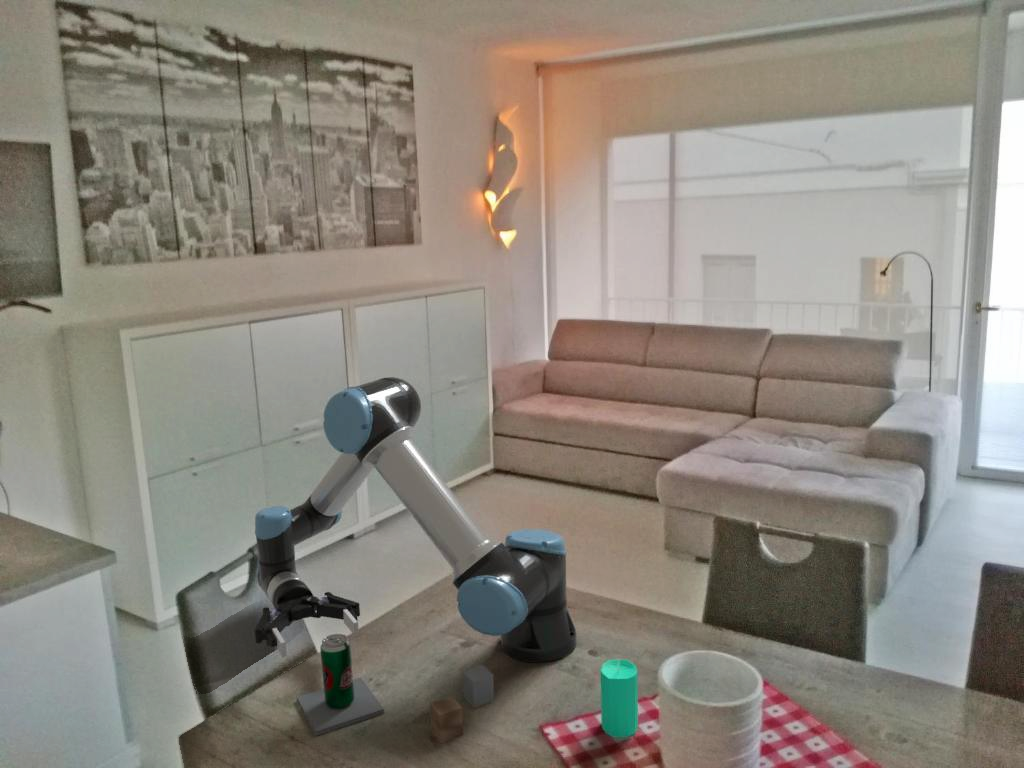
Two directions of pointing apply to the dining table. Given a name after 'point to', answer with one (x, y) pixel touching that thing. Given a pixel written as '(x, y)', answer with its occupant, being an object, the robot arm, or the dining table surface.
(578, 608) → the dining table surface
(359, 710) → the grey square plate
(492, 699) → the slate grey block
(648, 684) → the dining table surface
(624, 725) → the candle
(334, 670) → the soda can
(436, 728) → the walnut block
